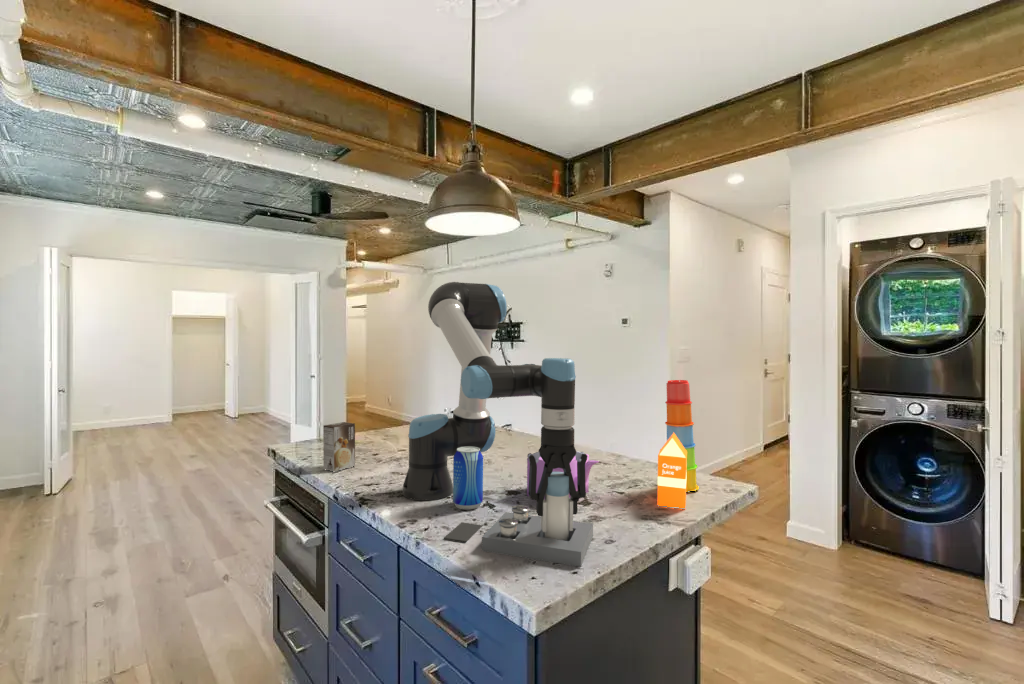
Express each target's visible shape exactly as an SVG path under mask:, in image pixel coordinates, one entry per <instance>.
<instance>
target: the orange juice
mask: <svg viewBox="0 0 1024 684" xmlns="http://www.w3.org/2000/svg"><path fill="white" fill-rule="evenodd" d="M686 466H687V451H686V450H685V448H684V447H683V445H682V444H681V442H680V441H679V439H678V438H677V436H676V435H675V433H674V432H673V434H672V435H671V437H670V438H669V439H668V441H667V440H666V442H665V443H664V444H663V446H662V447H661V448H660V449H659V452H658V455H657V502H656V505H659V506H667V507H679V508H685V507H686V508H687V505H686V504H687V493H686V477H687V472H686ZM659 506H658V507H659ZM667 507H666V508H667ZM686 508H685V509H686Z"/></svg>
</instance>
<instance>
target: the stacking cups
mask: <svg viewBox="0 0 1024 684" xmlns="http://www.w3.org/2000/svg"><path fill="white" fill-rule="evenodd" d="M665 404H666V421H665V422H664V424H665V425H666V442H667V441H668V439H669V438H670V437H671V435H672V434H673V432H674V433H675V435H676V436H677V438H678V439H679V441H680V442H681V444H682V445H683V447H684V448H685V450H686V451H687V466H686V472H687V477H686V492H688V491H695V492H697V491H699V489H700V488H699V487H700V486H699V485H698V484H697V469H698V464H696V454H695V453H696V452H695V447H696V443H695V442H694V428H693V425H694V424H695V422H693V419H692V418H693V417H692V416H693V415H692V404H693V402H692V401H691V390H690V382H689V381H688V380H687V379H686V380H685V379H673V380H672V379H671V380H667V382H666V401H665ZM695 489H696V490H697V491H696V490H695ZM688 493H689V492H688Z"/></svg>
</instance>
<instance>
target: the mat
mask: <svg viewBox="0 0 1024 684" xmlns="http://www.w3.org/2000/svg"><path fill="white" fill-rule="evenodd" d="M483 526H484V525H482V524H476V523H471V522H463V521H462V522H460V523H459V524H457V525H456V526H455V528H453V529H452V530H451V531H449V533H447V534H446V535H445V536H444V537H443V540H446V541H453V542H458V543H464V544H466V543H467V542H468V541H469V540H471V538H473V536H474V535H475V534H476V533H478V531H479V530H480V529H481V528H482V527H483Z"/></svg>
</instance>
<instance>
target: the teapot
mask: <svg viewBox="0 0 1024 684" xmlns="http://www.w3.org/2000/svg"><path fill="white" fill-rule="evenodd" d="M585 454H586V455H587V460H586V463H585V484H586V494H587V493H589V483H590V482H589V479H590V472H591V469H592V467H594V465H595V464H598V463H600V461H599V460H596V459H595V460H593V459H591V460H590V455H589V454H588V453H585ZM526 464H527V466H526V468H527V470H526V496H527V497H529V498H530V496H529V494H528V492H529V469H530V463H529V460H528V457H527V459H526ZM536 464H537V478H536V493H537V491H538V488H539V484H540V481H541V477H542V474H543V470H544V464H545V462H544V461H543V459H542V458H541V457H539V461H538V463H536ZM570 468H571V473H572V477H573V481H574V485H575V488H576V491H578V488H577V460H576V456H575V457H574V458H573V459H572V461H571V462H570ZM552 472H564V471H563V469H562V468H556V469H553V471H552ZM569 498H571V497H570V494H569ZM544 499H545V497H544Z"/></svg>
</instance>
